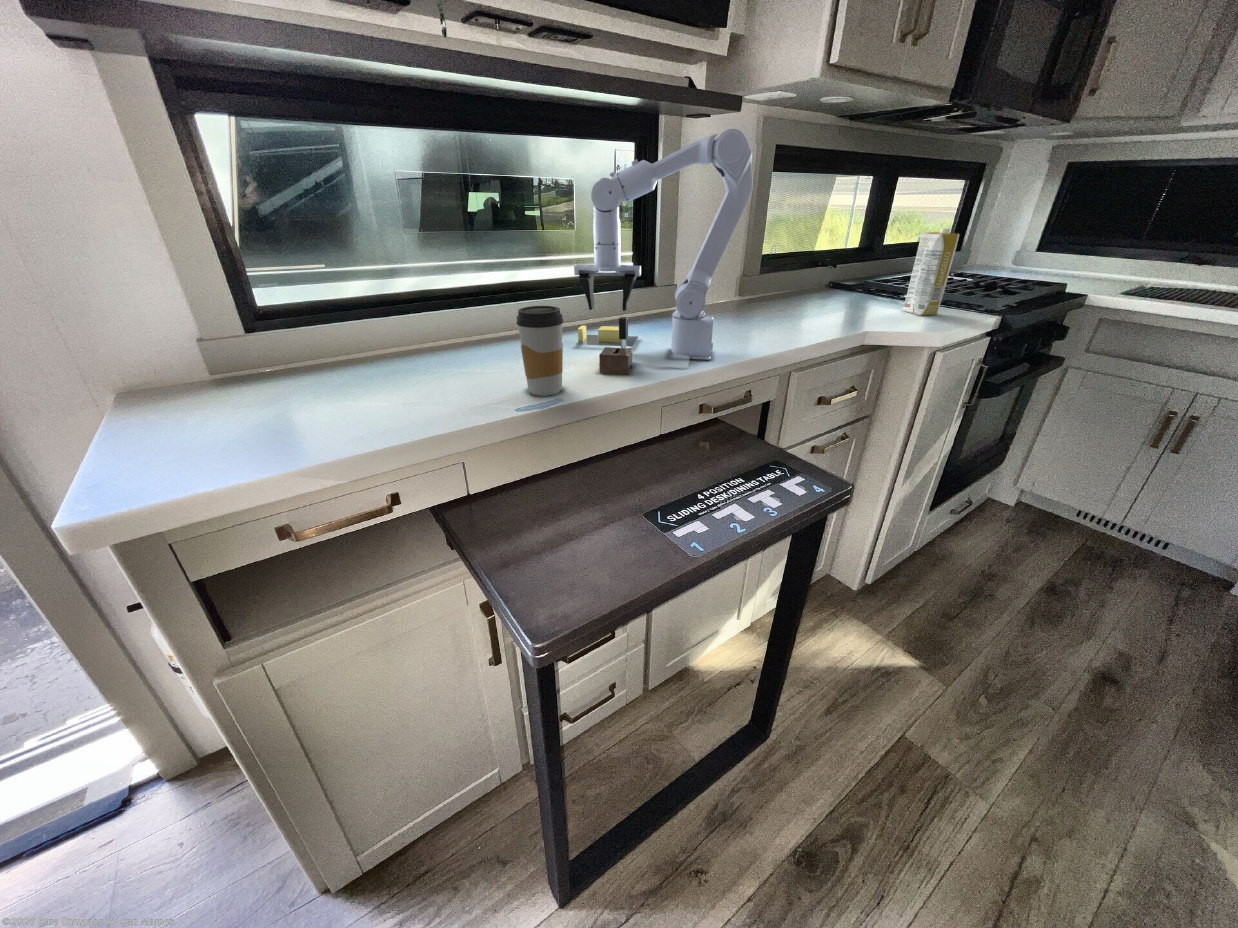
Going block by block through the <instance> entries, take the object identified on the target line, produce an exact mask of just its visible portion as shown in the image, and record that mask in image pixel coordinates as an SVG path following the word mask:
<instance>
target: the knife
mask: <svg viewBox="0 0 1238 928" xmlns="http://www.w3.org/2000/svg"><path fill="white" fill-rule="evenodd" d="M618 327H619V339H622V340H621V346H620V348H627V346H626V339H627V338H628V336H629V317H628V316H620V317H619V318H618Z"/></svg>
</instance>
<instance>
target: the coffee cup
mask: <svg viewBox="0 0 1238 928" xmlns="http://www.w3.org/2000/svg"><path fill="white" fill-rule="evenodd" d="M563 323H564V319H563V314H562V313H561V308H559V306H553V305H531V306H530V305H529V306H525V307H521V308H519V309H518V310H517V315H516V325H517V329H518V335H519V340H520V341H519V342H520V350H521V356H522V362H523V363H522V364H523V370H524V375H525V378H526V384H527V389H528V390H529V393H530V394H532V395H534V396H540V397H541V396H542V397H545V396H546V397H547V396H552V395H557V394H559V393H560V392H561V391H562V390H561V389H562V388H563V370H564V369H563V363H564V362H563V359H564V357H563V356H564V355H563V354H564V353H563V351H564V350H563V349H564V348H563V347H564V345H563Z"/></svg>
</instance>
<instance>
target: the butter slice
mask: <svg viewBox="0 0 1238 928" xmlns="http://www.w3.org/2000/svg"><path fill="white" fill-rule="evenodd" d="M586 335H587V325H580V326H579V327H578V328H577V342H579V341H584V340H585V339H586Z"/></svg>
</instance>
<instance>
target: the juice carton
mask: <svg viewBox="0 0 1238 928" xmlns="http://www.w3.org/2000/svg"><path fill="white" fill-rule="evenodd" d="M951 231H952V229H951V228H942V227H941V228H940V231H939V232H937V231H931V232H922V233H921V235H920V240H919V242H918V243H919V244H918V247H917V251H916V256H915V259H914V264H913V267H912V272H911V276H910V280H909V284H908V288H907V292H906V296H905V300H904V305H903V307H902V310H903V311H904V312H906V313H910V314H914V315H917V316H931V315H934V316H935V315H937V314H938V313H939V311H940V307H941V303H942V301H943V296H944V293H945V290H946V285H947V282H948V278H949V276H950V271H951V267H952V264H953V261H954V257H955V253H956V250H957V246H958V242H959V237H960V233H951Z"/></svg>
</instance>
